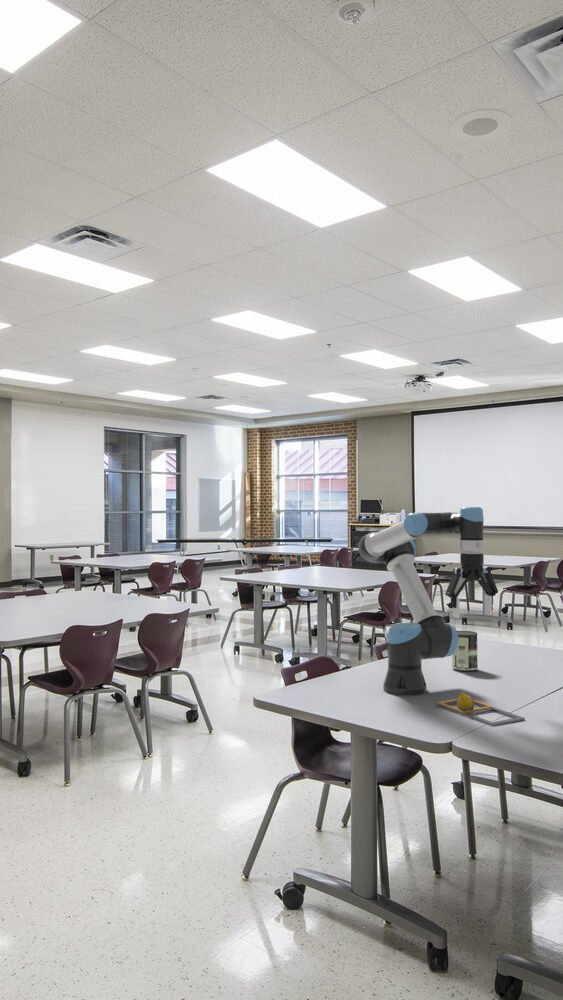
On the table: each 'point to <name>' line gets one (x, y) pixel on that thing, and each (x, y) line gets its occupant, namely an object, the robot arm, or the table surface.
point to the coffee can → (466, 651)
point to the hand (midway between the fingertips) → (472, 616)
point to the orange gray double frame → (480, 710)
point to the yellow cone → (465, 702)
